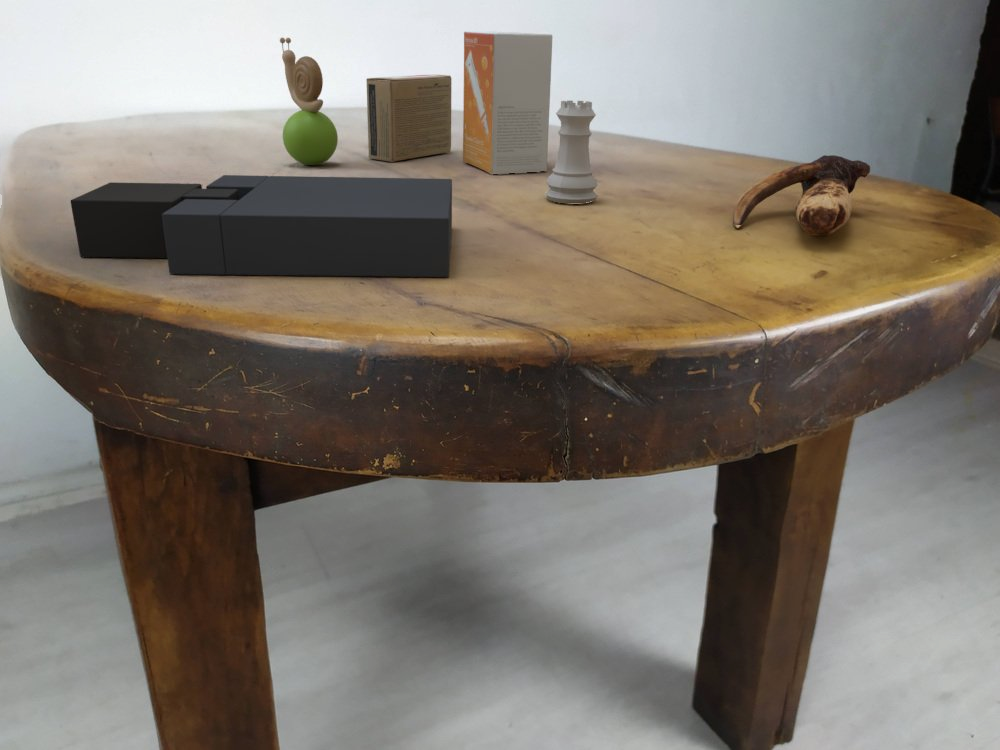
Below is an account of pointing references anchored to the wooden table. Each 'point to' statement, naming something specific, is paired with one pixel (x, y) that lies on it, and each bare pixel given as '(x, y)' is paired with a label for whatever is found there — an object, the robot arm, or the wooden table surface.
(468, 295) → the wooden table surface
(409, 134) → the ink box
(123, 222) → the black stepped block
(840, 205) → the lashed bone hook
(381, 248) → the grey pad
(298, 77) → the snail figurine
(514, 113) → the small box
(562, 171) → the rook chess piece
